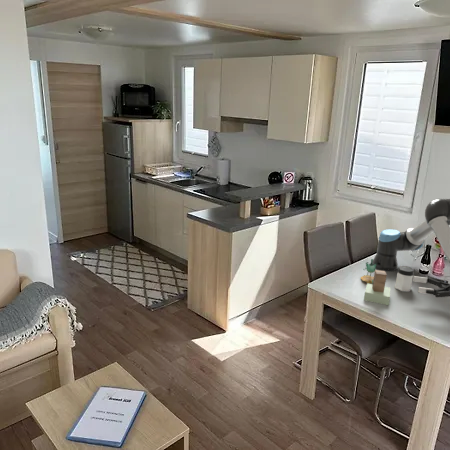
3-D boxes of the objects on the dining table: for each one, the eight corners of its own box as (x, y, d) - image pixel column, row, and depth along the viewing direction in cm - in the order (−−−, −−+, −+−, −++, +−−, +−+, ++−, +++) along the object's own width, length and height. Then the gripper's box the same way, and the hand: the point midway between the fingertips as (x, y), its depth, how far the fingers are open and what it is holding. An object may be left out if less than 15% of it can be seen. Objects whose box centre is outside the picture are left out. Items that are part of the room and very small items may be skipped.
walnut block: (372, 287, 221) (375, 270, 218) (381, 288, 220) (384, 271, 217) (373, 291, 216) (376, 273, 213) (383, 292, 215) (386, 274, 212)
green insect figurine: (360, 286, 232) (363, 261, 229) (359, 277, 249) (362, 253, 246) (378, 289, 230) (382, 263, 227) (376, 279, 247) (379, 255, 244)
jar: (407, 285, 236) (411, 266, 232) (413, 291, 228) (417, 271, 224) (392, 284, 236) (395, 265, 232) (397, 291, 228) (401, 271, 224)
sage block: (365, 291, 227) (367, 283, 225) (389, 296, 223) (390, 287, 221) (363, 300, 216) (365, 292, 215) (388, 305, 212) (389, 297, 210)
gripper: (467, 308, 195) (419, 301, 199) (453, 286, 218) (410, 280, 223) (471, 294, 193) (422, 287, 197) (456, 273, 216) (412, 268, 220)
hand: (415, 284), depth 210 cm, fingers open, 13 cm apart
